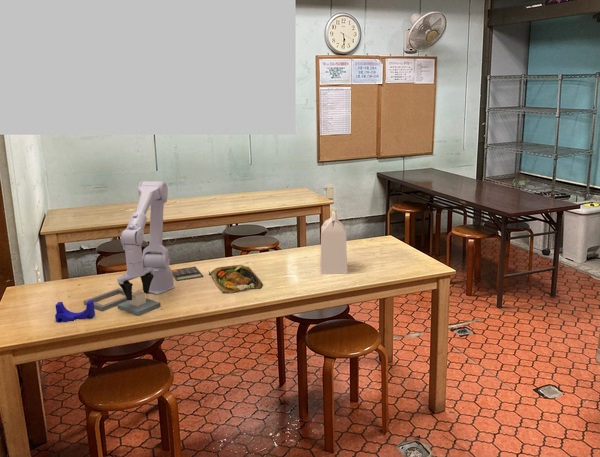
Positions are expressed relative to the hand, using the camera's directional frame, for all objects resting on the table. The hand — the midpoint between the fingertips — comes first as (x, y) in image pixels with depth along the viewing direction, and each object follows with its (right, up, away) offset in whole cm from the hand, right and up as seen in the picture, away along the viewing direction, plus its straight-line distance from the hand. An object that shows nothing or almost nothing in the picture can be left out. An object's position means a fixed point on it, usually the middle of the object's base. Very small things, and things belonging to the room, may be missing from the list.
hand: (138, 296), depth 192 cm
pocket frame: (-13, -3, +8) cm, 15 cm away
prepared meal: (+33, +2, +28) cm, 43 cm away
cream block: (0, -3, +1) cm, 3 cm away
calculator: (+10, +5, +37) cm, 39 cm away
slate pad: (0, -4, +1) cm, 4 cm away
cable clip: (-20, -7, -8) cm, 22 cm away
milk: (+75, +7, +39) cm, 85 cm away
